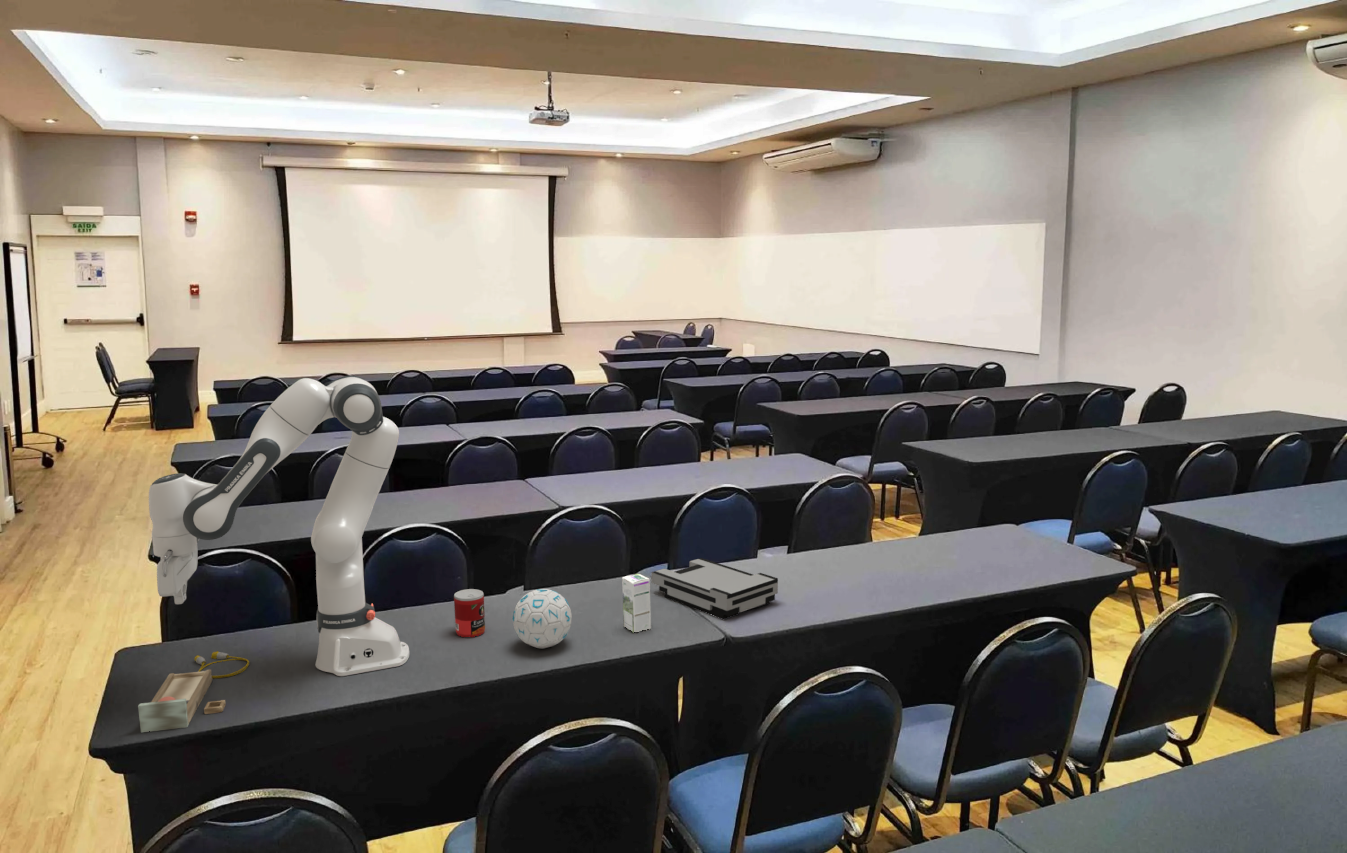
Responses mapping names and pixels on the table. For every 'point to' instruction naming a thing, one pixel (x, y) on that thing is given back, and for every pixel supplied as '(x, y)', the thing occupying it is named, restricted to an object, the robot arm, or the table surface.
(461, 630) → the canned food
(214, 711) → the hollow square frame
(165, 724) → the tray
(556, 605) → the puzzle ball
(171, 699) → the ball
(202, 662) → the extension cord
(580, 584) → the table surface
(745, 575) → the game console
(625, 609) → the syrup box
